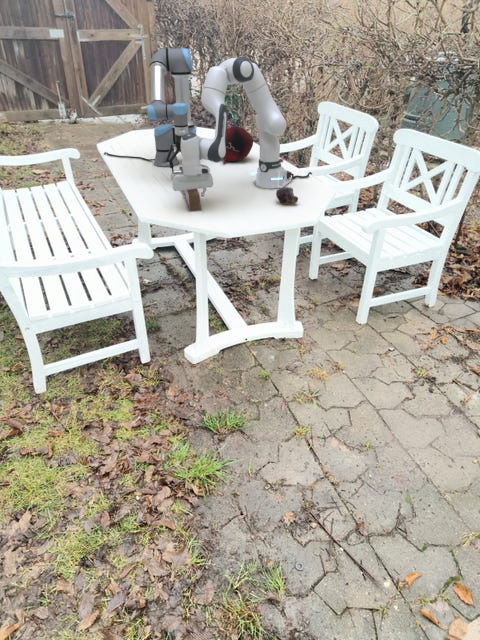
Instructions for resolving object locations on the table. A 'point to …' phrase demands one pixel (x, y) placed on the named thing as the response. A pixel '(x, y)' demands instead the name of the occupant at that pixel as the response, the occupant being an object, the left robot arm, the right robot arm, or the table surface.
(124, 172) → the table surface
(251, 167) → the table surface
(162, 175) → the table surface
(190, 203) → the beam
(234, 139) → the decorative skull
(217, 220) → the table surface
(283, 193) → the rock
